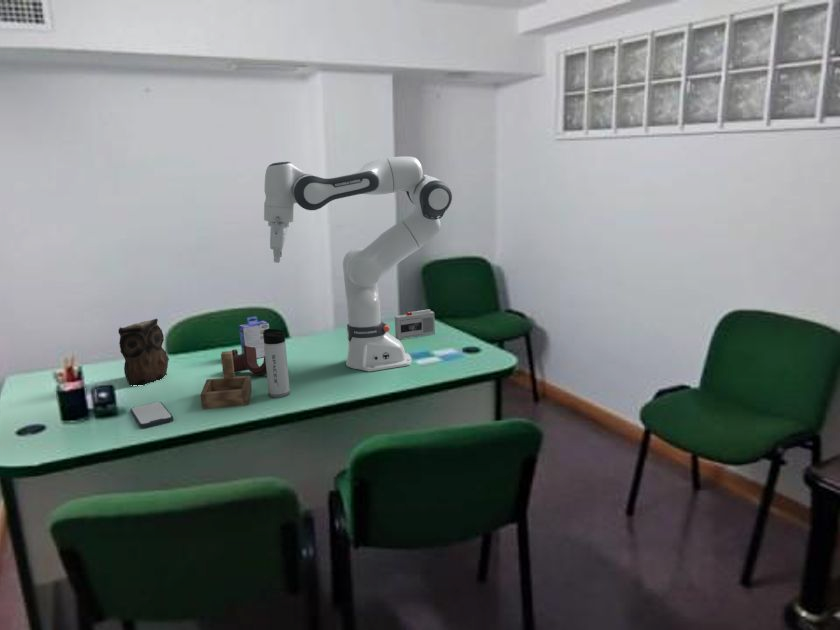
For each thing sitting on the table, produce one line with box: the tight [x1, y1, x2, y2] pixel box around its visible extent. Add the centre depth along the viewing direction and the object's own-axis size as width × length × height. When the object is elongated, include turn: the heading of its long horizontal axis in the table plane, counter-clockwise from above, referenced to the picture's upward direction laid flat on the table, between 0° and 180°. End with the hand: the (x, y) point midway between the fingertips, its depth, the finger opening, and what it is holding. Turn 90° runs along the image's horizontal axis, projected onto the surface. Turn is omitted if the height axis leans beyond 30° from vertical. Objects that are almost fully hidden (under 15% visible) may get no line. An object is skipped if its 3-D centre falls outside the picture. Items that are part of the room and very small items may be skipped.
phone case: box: [130, 401, 174, 429], centre depth 179 cm, size 9×2×16 cm
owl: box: [118, 318, 170, 387], centre depth 205 cm, size 13×13×20 cm
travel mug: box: [263, 328, 291, 399], centre depth 190 cm, size 6×7×20 cm
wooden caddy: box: [199, 350, 253, 410], centre depth 190 cm, size 13×16×12 cm
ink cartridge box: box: [238, 315, 270, 359], centre depth 228 cm, size 10×6×14 cm, turn 124°
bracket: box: [231, 345, 267, 376], centre depth 211 cm, size 6×17×10 cm, turn 78°
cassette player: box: [394, 308, 436, 340], centre depth 247 cm, size 16×3×10 cm, turn 114°
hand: (277, 259), depth 199 cm, fingers open, 8 cm apart
